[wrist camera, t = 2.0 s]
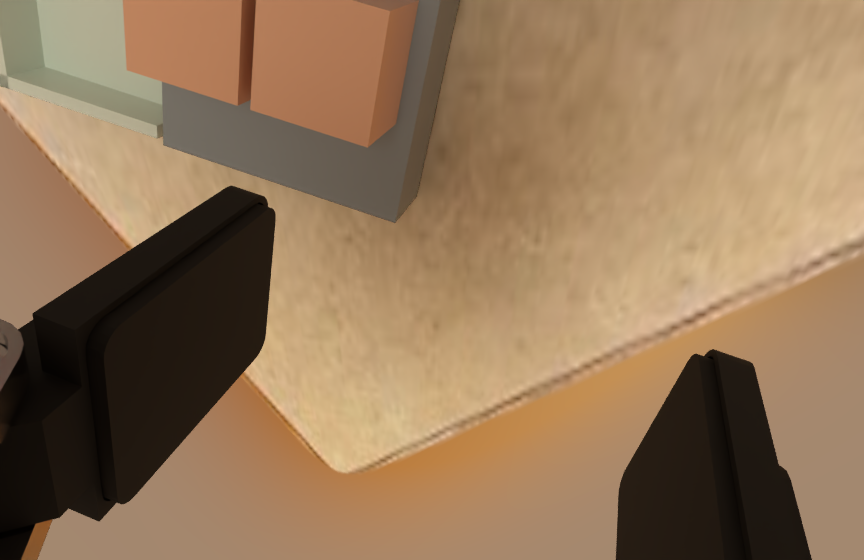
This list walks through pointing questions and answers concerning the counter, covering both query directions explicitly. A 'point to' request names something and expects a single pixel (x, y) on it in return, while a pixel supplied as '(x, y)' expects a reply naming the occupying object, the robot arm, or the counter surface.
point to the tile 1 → (193, 44)
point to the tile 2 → (332, 64)
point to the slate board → (320, 153)
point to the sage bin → (77, 61)
